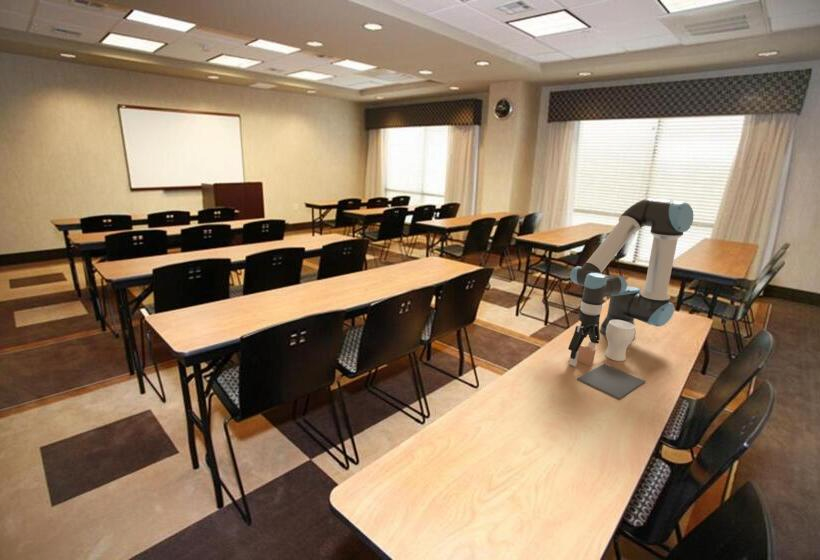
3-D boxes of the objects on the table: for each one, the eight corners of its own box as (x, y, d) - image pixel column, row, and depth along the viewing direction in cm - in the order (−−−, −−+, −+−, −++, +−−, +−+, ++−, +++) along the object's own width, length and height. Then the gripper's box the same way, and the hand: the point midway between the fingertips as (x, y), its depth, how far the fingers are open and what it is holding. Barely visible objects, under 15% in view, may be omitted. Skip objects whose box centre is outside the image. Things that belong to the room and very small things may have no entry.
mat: (604, 364, 164) (604, 363, 164) (645, 382, 152) (645, 381, 152) (576, 379, 152) (577, 378, 152) (619, 399, 140) (619, 398, 140)
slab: (572, 356, 170) (575, 341, 168) (592, 365, 164) (595, 349, 161) (570, 357, 169) (572, 342, 167) (590, 366, 163) (593, 350, 161)
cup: (626, 365, 164) (633, 331, 160) (598, 357, 170) (604, 324, 166) (631, 356, 172) (638, 323, 168) (604, 348, 178) (610, 317, 174)
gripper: (597, 303, 170) (588, 349, 176) (564, 315, 156) (556, 365, 162) (614, 309, 164) (605, 356, 171) (582, 321, 150) (573, 373, 156)
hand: (581, 360), depth 166 cm, fingers open, 12 cm apart
